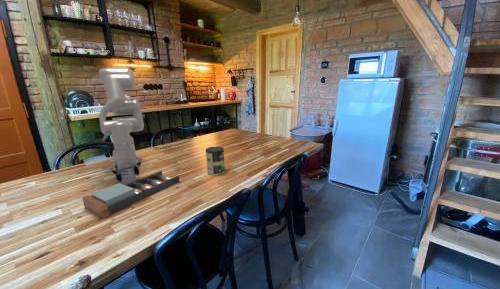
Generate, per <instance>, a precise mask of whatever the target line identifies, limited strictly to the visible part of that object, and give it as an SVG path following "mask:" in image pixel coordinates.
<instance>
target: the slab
mask: <svg viewBox="0 0 500 289" xmlns="http://www.w3.org/2000/svg"><path fill="white" fill-rule="evenodd" d="M135 191H136V190H135V188H134V189H133V188H131V187H128V186H126V185H123V184H121V182H119V183H116V184H114V185H110V186H108V187H105V188H103V189H100V190H97V191H95V192H91V193H90V196H92V197H94V198H96V199H98V200H100V201H102V202H104V203H106V204H107V206H111V205H113V204H115V203H117V202H120V201H122V200H124V199H126V198H129V197H131V196H133V195H135Z"/></svg>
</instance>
